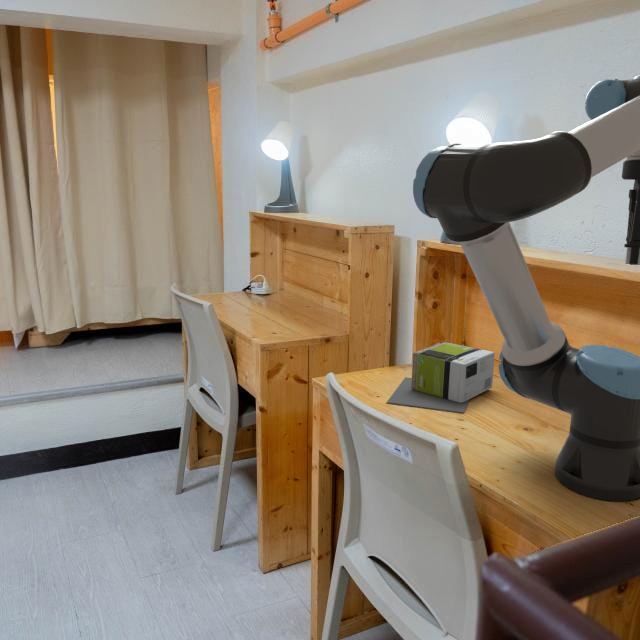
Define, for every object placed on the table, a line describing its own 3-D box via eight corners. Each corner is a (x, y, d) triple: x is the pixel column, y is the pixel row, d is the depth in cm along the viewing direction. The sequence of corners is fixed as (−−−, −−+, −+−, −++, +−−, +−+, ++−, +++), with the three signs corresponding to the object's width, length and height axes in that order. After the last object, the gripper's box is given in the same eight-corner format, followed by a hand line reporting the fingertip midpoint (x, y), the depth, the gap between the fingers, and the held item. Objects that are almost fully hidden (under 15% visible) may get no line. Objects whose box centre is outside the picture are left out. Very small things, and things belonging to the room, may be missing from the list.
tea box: (492, 390, 158) (442, 376, 168) (496, 351, 156) (445, 339, 166) (461, 404, 147) (409, 389, 157) (464, 364, 145) (411, 350, 155)
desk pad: (463, 413, 143) (463, 412, 143) (386, 403, 149) (386, 402, 149) (474, 386, 161) (474, 385, 161) (405, 378, 167) (405, 377, 167)
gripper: (672, 158, 114) (656, 286, 120) (661, 159, 126) (647, 276, 131) (627, 158, 117) (612, 283, 122) (620, 159, 129) (607, 273, 134)
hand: (630, 279), depth 127 cm, fingers closed
